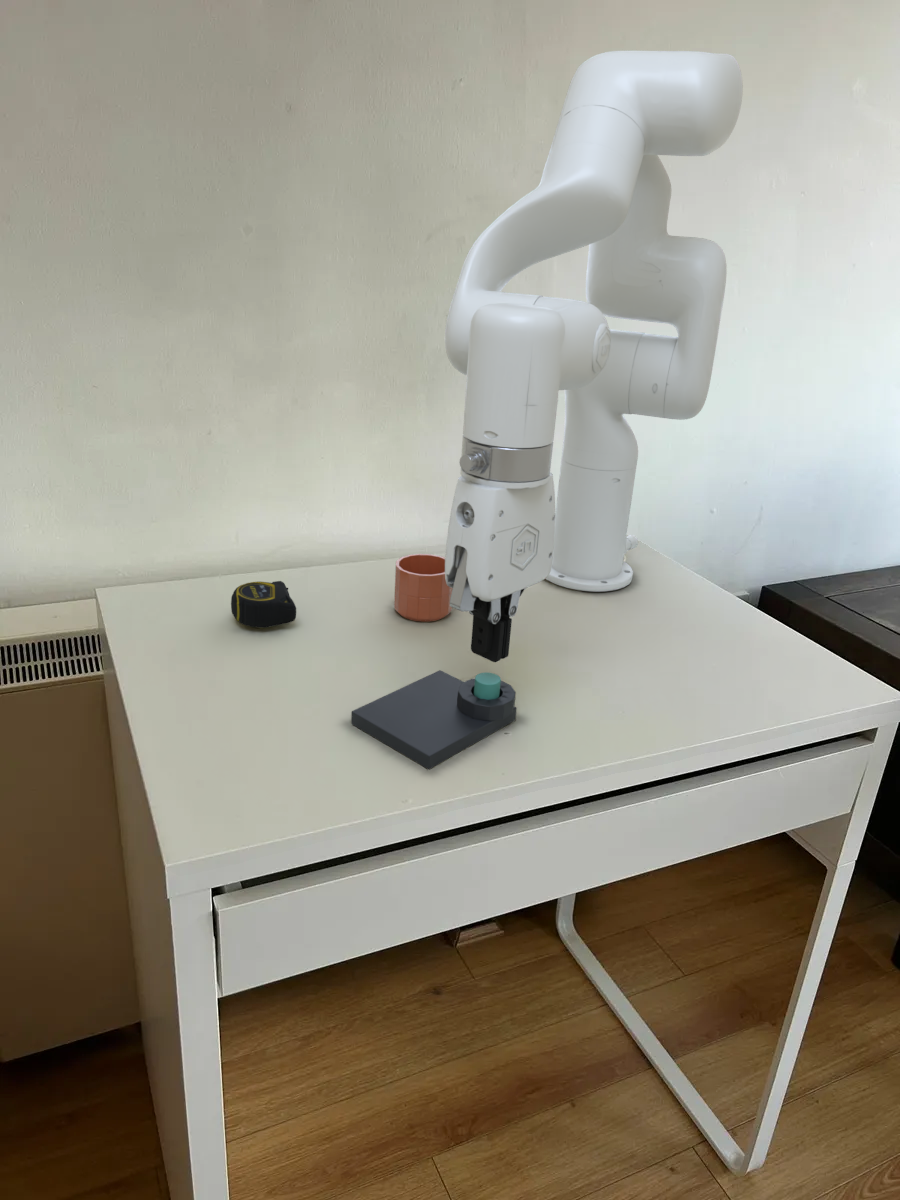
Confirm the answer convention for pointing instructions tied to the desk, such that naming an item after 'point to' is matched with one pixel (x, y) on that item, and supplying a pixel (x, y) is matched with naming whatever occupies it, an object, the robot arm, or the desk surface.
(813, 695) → the desk surface
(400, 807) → the desk surface
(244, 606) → the tape measure
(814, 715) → the desk surface
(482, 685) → the button
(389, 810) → the desk surface
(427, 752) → the scale
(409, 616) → the terracotta cylindrical cup
